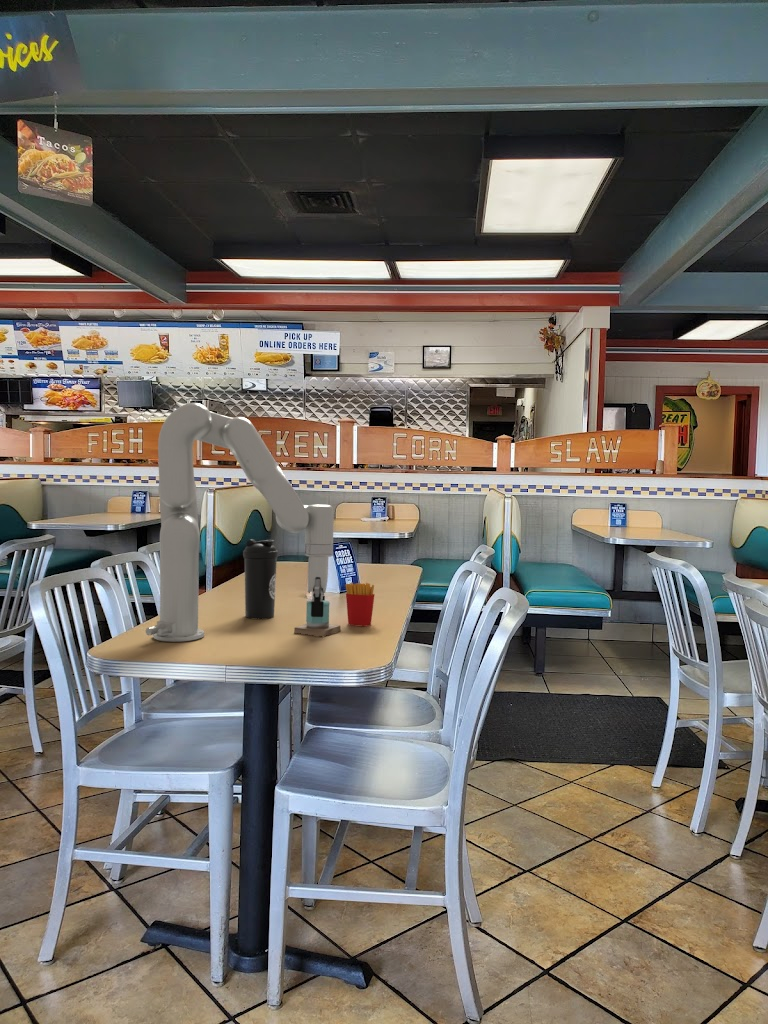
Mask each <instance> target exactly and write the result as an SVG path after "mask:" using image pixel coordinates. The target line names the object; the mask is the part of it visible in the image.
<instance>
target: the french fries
mask: <svg viewBox="0 0 768 1024" xmlns="http://www.w3.org/2000/svg"><path fill="white" fill-rule="evenodd" d="M374 589H375V585H374V584H370V583H368V582H365V583H362V582H361V583H360V582H357V583H353V582H350V583H345V590H346V593H345V598H346V611H347V622H348V623H347V624H348V625H349V624H350V625H349V626H355V625H362V626H361V627H369V625H370V626H372V617H373V609H374V602H375V601H374V600H375V593H374Z"/></svg>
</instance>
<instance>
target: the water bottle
mask: <svg viewBox="0 0 768 1024" xmlns="http://www.w3.org/2000/svg"><path fill="white" fill-rule="evenodd" d="M274 542H275V540H274V539H266V540H265V539H263V540H259V541H257V540H256V539H253V538H251V539H248V540H247V542H246V546H245V548H244V550H243V551H242V556H243V557H242V558H243V559H244V600H245V601H244V602H245V603H244V606H245V607H244V608H245V609H244V610H245V614H244V615H245V616H246V617H245V618H247V617H248V618H247V619H251V618H257V619H256V620H263V619H262V618H267V619H271V618H270V617H272V618H274V617H275V604H276V583H277V582H276V581H277V559H278V557H279V550H277V547H276V546H275V545H274ZM273 616H274V617H273ZM258 618H259V619H258Z"/></svg>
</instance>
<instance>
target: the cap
mask: <svg viewBox="0 0 768 1024" xmlns="http://www.w3.org/2000/svg"><path fill="white" fill-rule="evenodd" d="M311 602H312V599H310V600H307V601H306V620H305V621H306V623H307V622H310V623H326V622H329V623H330V606H331V605H330V604H331V603H330V600H329V601H328V600H326V599H325V600H323V602H324V605H323V617H312V616H311Z"/></svg>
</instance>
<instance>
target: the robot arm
mask: <svg viewBox="0 0 768 1024" xmlns="http://www.w3.org/2000/svg"><path fill="white" fill-rule="evenodd" d="M195 440H196V441H201V442H204V443H206V444H210V445H213V446H216V447H221V448H223V449H224V448H225V449H229V451H230V452H231V453H232V455H233V457H234V459H236V462H237V463H238V464H239V466H240V468H241V469H242V471H243V473H244V474H245V476H246V478H247V479H248V481H249V482H250V483H251V485H252V486H253V487H254V488H255V489H256V491H257V490H258V492H259V493H260V494H261V495H262V497H263V498H264V499H265V501H266V502H267V504H268V505H269V507H270V508H271V510H272V512H274V514H275V521H276V523H277V525H278V526H279V527H280V528H281V529H282V530H283V531H286V532H288V533H293V534H297V533H301V532H302V531H305V532H304V533H305V536H304V537H305V538H304V540H305V541H304V542H305V543H304V556H306V557H308V560H307V562H308V563H307V564H308V565H307V589H306V590H307V591H306V592H307V593H308V594H311V595H312V596H311V600H312V602H311V616H312V617H323V605H324V602H323V600H325V601H326V597H325V593H326V591H327V587H328V577H329V576H328V575H329V558H330V557H333V555H334V521H335V520H334V519H335V517H334V516H335V512H334V507H333V506H332V505H330V504H321V503H320V504H317V503H316V504H309V505H307V504H304V503H303V501H302V500H301V498H300V497H299V495H298V493H297V492H296V491H295V488H294V487H293V486H292V484H291V483H290V481H289V480H288V479H287V477H286V475H285V473H284V472H283V470H282V468H281V467H280V466H279V464H278V462H277V461H276V460H275V458H274V456H273V455H272V453H271V452H270V450H269V447H267V445H266V443H265V441H264V440H263V438H262V437H261V435H260V433H259V432H258V430H257V429H256V427H255V426H254V424H253V423H252V422H251V420H249V419H247V418H246V417H244V416H236V417H230V416H226V415H223V414H219V413H216V412H213V411H210V410H209V408H208V407H206V406H205V405H203V404H201V403H200V402H199V403H198V402H187V403H185V404H184V405H181V406H179V407H178V408H176V409H174V410H173V411H172V412H171V413H169V415H168V416H167V417H166V419H164V422H163V424H162V426H161V427H160V431H159V435H158V440H157V441H158V443H157V444H158V445H157V447H158V448H157V450H158V451H157V453H158V456H157V458H158V488H157V489H158V495H159V507H160V508H159V509H160V522H161V523H160V525H161V527H160V531H159V620H157V621H156V624H155V626H150V627H147V628H146V629H145V633H146V635H147V636H152V637H153V639H154V640H156V641H160V642H172V643H175V642H176V643H177V642H189V641H195V640H199V639H202V638H203V637H204V636H205V631H204V630H203V629H200V628H199V587H200V586H199V585H200V584H199V580H200V579H199V573H200V572H199V571H200V570H199V569H200V567H199V563H200V535H201V534H200V528H199V520H198V519H199V517H198V503H197V502H198V500H197V497H198V496H197V484H196V481H195V473H194V442H195Z"/></svg>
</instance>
